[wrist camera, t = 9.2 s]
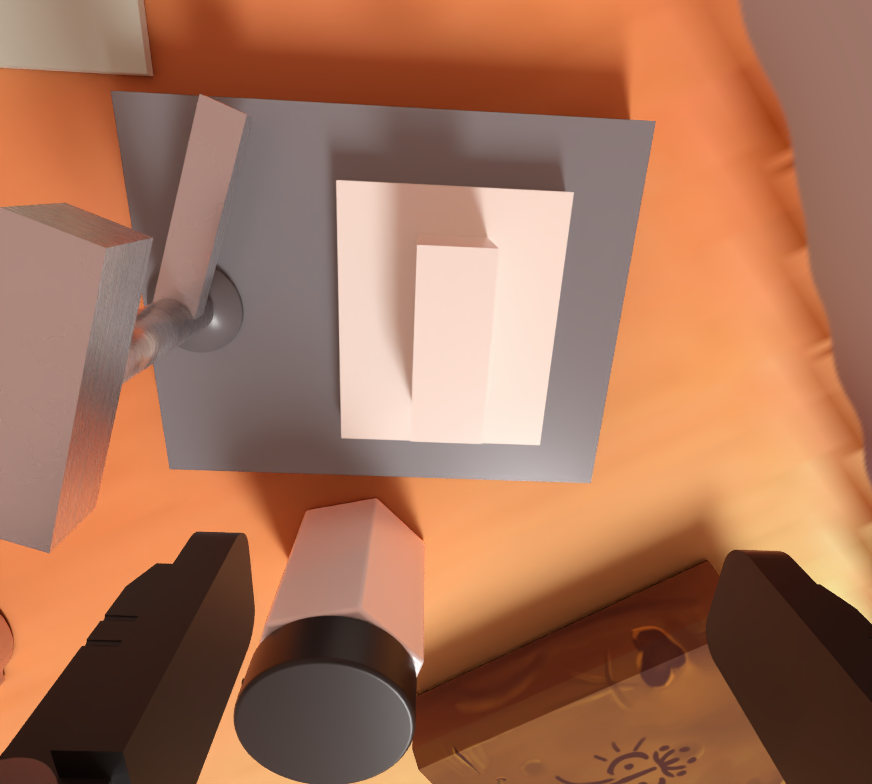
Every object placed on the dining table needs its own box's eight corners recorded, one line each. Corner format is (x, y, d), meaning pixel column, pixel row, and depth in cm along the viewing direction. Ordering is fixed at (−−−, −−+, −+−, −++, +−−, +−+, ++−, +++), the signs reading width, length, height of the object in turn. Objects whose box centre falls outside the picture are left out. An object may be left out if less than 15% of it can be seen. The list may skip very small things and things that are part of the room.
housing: (576, 456, 32) (592, 485, 29) (192, 443, 32) (167, 471, 29) (630, 127, 26) (658, 120, 23) (145, 100, 25) (106, 89, 22)
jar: (262, 544, 35) (184, 719, 23) (353, 471, 33) (315, 623, 22) (359, 623, 37) (330, 815, 26) (448, 560, 35) (459, 737, 24)
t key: (271, 123, 22) (137, 77, 12) (193, 409, 27) (49, 553, 17) (212, 97, 22) (20, 26, 12) (143, 392, 27) (-36, 528, 16)
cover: (534, 432, 28) (557, 488, 23) (345, 425, 28) (327, 480, 23) (565, 191, 24) (602, 195, 19) (341, 180, 24) (317, 180, 19)
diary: (700, 549, 36) (748, 614, 31) (788, 713, 42) (841, 790, 37) (413, 687, 40) (411, 766, 35) (531, 818, 46) (545, 902, 41)
